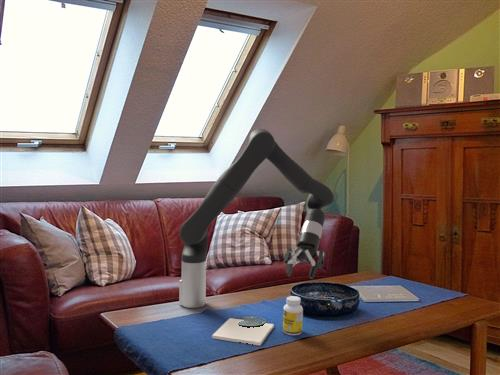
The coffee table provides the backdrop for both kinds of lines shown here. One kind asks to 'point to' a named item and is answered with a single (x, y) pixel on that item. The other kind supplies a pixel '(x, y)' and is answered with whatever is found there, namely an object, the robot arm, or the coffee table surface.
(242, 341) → the cream tile
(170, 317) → the coffee table surface
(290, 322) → the pill bottle
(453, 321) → the coffee table surface
